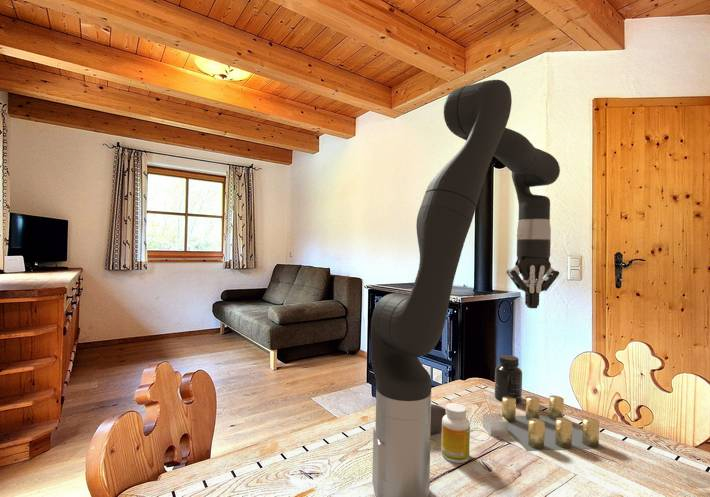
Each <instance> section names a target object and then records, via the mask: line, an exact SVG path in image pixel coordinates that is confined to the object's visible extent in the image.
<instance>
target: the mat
mask: <svg viewBox="0 0 710 497" xmlns="http://www.w3.org/2000/svg"><path fill="white" fill-rule="evenodd" d="M540 420H542V421H544V422H545V435H544V449H535V448H532V447H530V446H529V445H528V428H529V420H527V419H526V415H516V418H515V422H513V423H510V422H508V434H510V435H511V437H513V438H514V440H516V441H517V443H519V444H520V445H521V446H522V448H524V449H525V450H526V452H533V451H535V452H538V451H567V450H569V451H570V450H571V451H572V450H574V451H575V450H603V449H604V450H605V449H606V450H607V448H606V447H604V446H603V445H602V444H600V443H599V447H598V448H592V447H588V446H586V445H584V444H583V443H582V429H580V428H578V427H577V426H575V425H574V424H572V448H570V449H566V448H562V447H559V446H557V445H556V444H555V433H556V421H554V420H552V419H550V418H549V414H548V415H547V414H541V415H540Z"/></svg>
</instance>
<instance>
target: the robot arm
mask: <svg viewBox="0 0 710 497" xmlns="http://www.w3.org/2000/svg"><path fill="white" fill-rule="evenodd" d="M511 91H512V90H511V88H510V86H509V85H508V83H507V82H506V81H504V80H502V79H489V80H484V81H480V82H476V83H472V84H469V85H464V86H461V87H458V88H455V89H453V90H452V91H451V92H449V93H448V95H447V96H446V98H445V101H444V104H443V119H444V122H445V125H446V127H447V128H448V130H449V131H450V132H451V133H452V134H453V135H455V136H457V138H460V139H462V140H465V142H464V144H463V146H461V148H460V149H459V151H457V152H456V154H455V155H454V156H453V157H452V158H451V159H450V160H449V161H448V162H447V163H446V164H445V165H444V166H443V167H442V168H441V169H440V170H439V171H438V172H437V173H436V174H435V176H434V177H433V178H432V179H431V181H430V182H429V184H428V186H427V187H426V189H425V190H426V191H425V193H424V195H423V198H422V200H421V201H422V202H421V204H420V207H419V210H418V214H417V217H416V227H415V228H416V235H417V244H418V251H419V265H418V270H417V274H416V277H415V280H414V283H413V286H412V289H411V291H410V294H409V295H408V294H405V293H404V294H403V293H397V292H394V293H393V292H392V293H389V294H386V295H384V296H383V297H381V298H380V299H378V301H377V303H376V305H375V307H374V309H373V311H372V316H371V320H370V321H371V323H370V341H371V343H370V344H371V346H370V347H371V367H372V372H373V375H374V378H375V381H376V382H375V384H376V386H375V387H376V388H375V390H376V392H375V394H376V395H375V426H374V427H373V429H372V430H373V433H372V436H373V437H372V478H371V479H372V480H371V481H372V486H373V492H374V495H375V496H374V497H430V485H431V482H430V481H431V480H430V472H431V434H430V431H431V404H432V376H431V375H430V373H429V372H428V371H427V369H426V368H425V367H424V366H423V364H422V363H421V361H420V360H419V357H424V356H426V355H428V354H430V353H431V352H432V351H433V350H434V349H435V348H436V347H437V345H438V343H439V342H440V339H441V337H442V334H443V331H444V328H445V324H446V319H447V316H448V315H447V314H448V308H449V305H450V300H451V294H452V290H453V286H454V282H455V277H456V272H457V269H458V267H459V263H460V260H461V256H462V252H463V248H464V244H465V242H466V238H467V236H468V233H469V230H470V228H471V225H472V222H473V218H474V215H475V213H476V209H477V206H478V201H479V199H480V195H481V191H482V189H483V184H484V182H485V179H486V176H487V173H488V171H489V168H490V165H491V162H492V160H493V158H494V157H495V158H496V159H497V160H498V161H499V162H500V163H502V164H503V166H505V167H506V168H507V169H508V170H509V171H510V172H511V179H512V183H513V185H514V189H515V193H516V197H517V202H518V221H517V227H516V228H517V229H516V258H517V260H516V261H515V266H513V267H512V268H511V269H507V270H506V274H507V275H508V277H509V278H510V279H511V281H512V282H513V283H514V285H515V287H516V288H517V289H518V290H521V291H523V292H524V296H525V297H524V298H525V300H524V303H525V306H526V307H527V308H529V309H537V308H538V307H539V305H540V293H542V292H547V291H548V289H549V288H550V287H551V286H552V285H553V283H554V282H555V280H556V279H557V278H558V277H559V275H560V272H559V270H555V269H554V268H553V267H552V264H551V262H550V257H551V238H552V237H551V236H552V235H551V234H552V230H551V229H552V228H551V220H550V219H551V200H550V198H549V197H548V196H546V195H541V194H540V195H539V194H533V193H532V192H531V190H530V188H532V187H533V188H534V187H542V186H549V185H553V184H554V183H555V182H556V181H557V180H558V178H559V176H560V173H561V168H560V163H559V162H558V160H557V159H556V158H555V157H554V156H553V155H552V154H551V153H549V152H547V151H544V150H542V149H539V148H537V147H536V146H534V145H533V144H532V142H531V141H530V140H529V139H528V138H527V137H526V136H525V135H523V134H522V133H520V132H518V131H515V130H513V129H510V128H507V125H508V121H509V119H510V116H511V111H512V105H513V104H512V102H513V101H512V92H511ZM520 275H521V276H520Z"/></svg>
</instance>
